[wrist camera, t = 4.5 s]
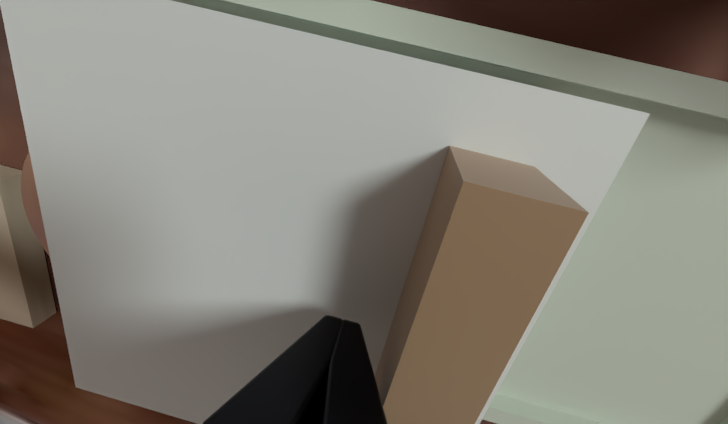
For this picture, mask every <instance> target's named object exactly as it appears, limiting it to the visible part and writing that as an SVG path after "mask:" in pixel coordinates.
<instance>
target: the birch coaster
mask: <svg viewBox="0 0 728 424" xmlns="http://www.w3.org/2000/svg"><path fill="white" fill-rule="evenodd" d="M21 175H22V171H21V170H18V169H14V168H10V167H6V166H3V165H0V319H3V320H7V321H10V322H14V323H17V324H21V325H24V326H27V327H31V328H34V327H36V326H37V325H39V324H40V323H42V322H43V321H45V320H46V319H48V318H49V317H51V316H52V315H54V314H55V313H56V308H55V303H54V298H53V293H52V288H51V283H50V278H49V273H48V268H47V263H46V259H45V254H44V249H43V247H42V246H41V244H40V242H39V241H38V239H37V238H36V236H35V234H34V232H33V230H32V228H31V226H30V223H29V221H28V218H27V216H26V213H25V209H24V205H23V201H22V194H21Z"/></svg>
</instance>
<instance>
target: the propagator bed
mask: <svg viewBox="0 0 728 424" xmlns="http://www.w3.org/2000/svg"><path fill="white" fill-rule="evenodd" d="M172 1H176V2H180V3H184V4H189V5H193V6H197V7H201V8H206V9H210V10H214V11H218V12H223V13H227V14H231V15H235V16H239V17H244V18H248V19H252V20H256V21H261V22H265V23H269V24H273V25H278V26H282V27H286V28H290V29H294V30H299V31H303V32H307V33H311V34H316V35H320V36H324V37H328V38H333V39H337V40H341V41H345V42H349V43H354V44H358V45H362V46H366V47H371V48H375V49H379V50H383V51H388V52H392V53H396V54H400V55H404V56H409V57H413V58H417V59H421V60H426V61H430V62H434V63H438V64H443V65H447V66H451V67H455V68H459V69H464V70H468V71H472V72H476V73H481V74H485V75H489V76H493V77H498V78H502V79H506V80H510V81H514V82H519V83H523V84H527V85H531V86H536V87H540V88H544V89H548V90H553V91H557V92H561V93H565V94H569V95H574V96H578V97H582V98H586V99H591V100H595V101H599V102H603V103H607V104H612V105H616V106H620V107H624V108H629V109H633V110H637V111H641V112H646V113H650V115H649V117H648V119H647V120H646V122H645V124H644V126H643V128H642V129H641V131H640V133H639V135H638V137H637V139H636V140H635V142H634V144H633V146H632V148H631V149H630V151H629V153H628V155H627V157H626V159H625V160H624V162H623V164H622V166H621V168H620V169H619V171H618V173H617V175H616V177H615V179H614V180H613V182H612V184H611V186H610V188H609V189H608V191H607V193H606V195H605V197H604V199H603V200H602V202H601V204H600V206H599V208H598V209H597V211H596V213H595V215H594V217H593V219H592V220H591V222H590V224H589V226H588V228H587V229H586V231H585V233H584V235H583V237H582V239H581V240H580V242H579V244H578V246H577V248H576V249H575V251H574V253H573V255H572V257H571V259H570V260H569V262H568V264H567V266H566V268H565V269H564V271H563V273H562V275H561V277H560V279H559V280H558V282H557V284H556V286H555V288H554V289H553V291H552V293H551V295H550V297H549V299H548V300H547V302H546V304H545V306H544V308H543V309H542V311H541V313H540V315H539V317H538V319H537V320H536V322H535V324H534V326H533V328H532V329H531V331H530V333H529V335H528V337H527V339H526V340H525V342H524V344H523V346H522V348H521V349H520V351H519V353H518V355H517V357H516V359H515V360H514V362H513V364H512V366H511V368H510V369H509V371H508V373H507V375H506V377H505V379H504V380H503V382H502V384H501V386H500V388H499V389H498V391H497V393H496V395H495V397H494V399H493V400H492V402H491V404H490V406H489V408H488V409H487V411H486V413H485V415H484V417H483V420H487V421H490V422H494V423H497V424H728V82H724V81H720V80H716V79H711V78H707V77H702V76H698V75H694V74H689V73H685V72H681V71H676V70H672V69H668V68H663V67H659V66H655V65H650V64H646V63H641V62H637V61H633V60H628V59H624V58H620V57H615V56H611V55H607V54H602V53H598V52H594V51H589V50H585V49H580V48H576V47H572V46H567V45H563V44H559V43H554V42H550V41H546V40H541V39H537V38H533V37H528V36H524V35H519V34H515V33H511V32H506V31H502V30H498V29H493V28H489V27H485V26H480V25H476V24H472V23H467V22H463V21H458V20H454V19H450V18H445V17H441V16H437V15H432V14H428V13H424V12H419V11H415V10H411V9H406V8H402V7H397V6H393V5H389V4H384V3H380V2H376V1H371V0H172Z"/></svg>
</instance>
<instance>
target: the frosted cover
mask: <svg viewBox="0 0 728 424" xmlns="http://www.w3.org/2000/svg"><path fill="white" fill-rule="evenodd" d="M0 6H1V11H2V16H3V21H4V26H5V31H6V36H7V41H8V46H9V52H10V57H11V62H12V67H13V72H14V77H15V82H16V87H17V92H18V97H19V102H20V107H21V113H22V118H23V123H24V128H25V133H26V138H27V143H28V148H29V153H30V158H31V163H32V168H33V173H34V179H35V184H36V189H37V194H38V199H39V204H40V209H41V214H42V219H43V224H44V229H45V234H46V239H47V245H48V250H49V255H50V260H51V265H52V270H53V275H54V280H55V285H56V290H57V295H58V300H59V305H60V311H61V316H62V321H63V326H64V331H65V336H66V341H67V346H68V351H69V356H70V361H71V366H72V371H73V377H74V382H75V387H76V388H80V389H83V390H86V391H90V392H93V393H96V394H100V395H103V396H107V397H110V398H113V399H117V400H120V401H123V402H127V403H130V404H133V405H137V406H140V407H143V408H147V409H150V410H153V411H157V412H160V413H163V414H167V415H170V416H174V417H177V418H180V419H184V420H187V421H190V422H194V423H197V424H203V422H204V421H205V420H206V419H207V418H208V417H209V416H211V415H212V414H213V413H214V412H215V411H216V410H217V409H219V408H220V407H221V406H222V405H223V404H224V403H225V402H227V401H228V400H229V399H230V398H231V397H232V396H233V395H235V394H236V393H237V392H238V391H239V390H240V389H241V388H243V387H244V386H245V385H246V384H247V383H248V382H249V381H251V380H252V379H253V378H254V377H255V376H256V375H257V374H259V373H260V372H261V371H262V370H263V369H264V368H265V367H267V366H268V365H269V364H270V363H271V362H272V361H273V360H275V359H276V358H277V357H278V356H279V355H280V354H281V353H283V352H284V351H285V350H286V349H287V348H288V347H289V346H291V345H292V344H293V343H294V342H295V341H296V340H297V339H299V338H300V337H301V336H302V335H303V334H304V333H305V332H307V331H308V330H309V329H310V328H311V327H312V326H313V325H314V324H316V323H317V322H318V321H319V320H320V319H321V318H322V317H324V316H325V315H331V316H334V317H338V318H341V319H342V320H344V319H345V320H349V321H353V322H357V323H359V324H360V326H361V328H362V332H363V336H364V339H365V343H366V347H367V350H368V354H369V358H370V361H371V365H372V369H373V372H374V376H375V380H376V383H377V387H378V391H379V394H380V398H381V401H382V405H383V409H384V412H385V416H386V420H387V423H388V424H480V422H481V420H482V419H483V417H484V415H485V413H486V411H487V409H488V408H489V406H490V404H491V402H492V400H493V399H494V397H495V395H496V393H497V391H498V389H499V388H500V386H501V384H502V382H503V380H504V379H505V377H506V375H507V373H508V371H509V369H510V368H511V366H512V364H513V362H514V360H515V359H516V357H517V355H518V353H519V351H520V349H521V348H522V346H523V344H524V342H525V340H526V339H527V337H528V335H529V333H530V331H531V329H532V328H533V326H534V324H535V322H536V320H537V319H538V317H539V315H540V313H541V311H542V309H543V308H544V306H545V304H546V302H547V300H548V299H549V297H550V295H551V293H552V291H553V289H554V288H555V286H556V284H557V282H558V280H559V279H560V277H561V275H562V273H563V271H564V269H565V268H566V266H567V264H568V262H569V260H570V259H571V257H572V255H573V253H574V251H575V249H576V248H577V246H578V244H579V242H580V240H581V239H582V237H583V235H584V233H585V231H586V229H587V228H588V226H589V224H590V222H591V220H592V219H593V217H594V215H595V213H596V211H597V209H598V208H599V206H600V204H601V202H602V200H603V199H604V197H605V195H606V193H607V191H608V189H609V188H610V186H611V184H612V182H613V180H614V179H615V177H616V175H617V173H618V171H619V169H620V168H621V166H622V164H623V162H624V160H625V159H626V157H627V155H628V153H629V151H630V149H631V148H632V146H633V144H634V142H635V140H636V139H637V137H638V135H639V133H640V131H641V129H642V128H643V126H644V124H645V122H646V120H647V119H648V117H649V115H650V113H646V112H641V111H637V110H633V109H629V108H624V107H620V106H616V105H612V104H607V103H603V102H599V101H595V100H591V99H586V98H582V97H578V96H574V95H569V94H565V93H561V92H557V91H553V90H548V89H544V88H540V87H536V86H531V85H527V84H523V83H519V82H514V81H510V80H506V79H502V78H498V77H493V76H489V75H485V74H481V73H476V72H472V71H468V70H464V69H459V68H455V67H451V66H447V65H443V64H438V63H434V62H430V61H426V60H421V59H417V58H413V57H409V56H404V55H400V54H396V53H392V52H388V51H383V50H379V49H375V48H371V47H366V46H362V45H358V44H354V43H349V42H345V41H341V40H337V39H333V38H328V37H324V36H320V35H316V34H311V33H307V32H303V31H299V30H294V29H290V28H286V27H282V26H278V25H273V24H269V23H265V22H261V21H256V20H252V19H248V18H244V17H239V16H235V15H231V14H227V13H223V12H218V11H214V10H210V9H206V8H201V7H197V6H193V5H189V4H184V3H180V2H176V1H172V0H0Z"/></svg>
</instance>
